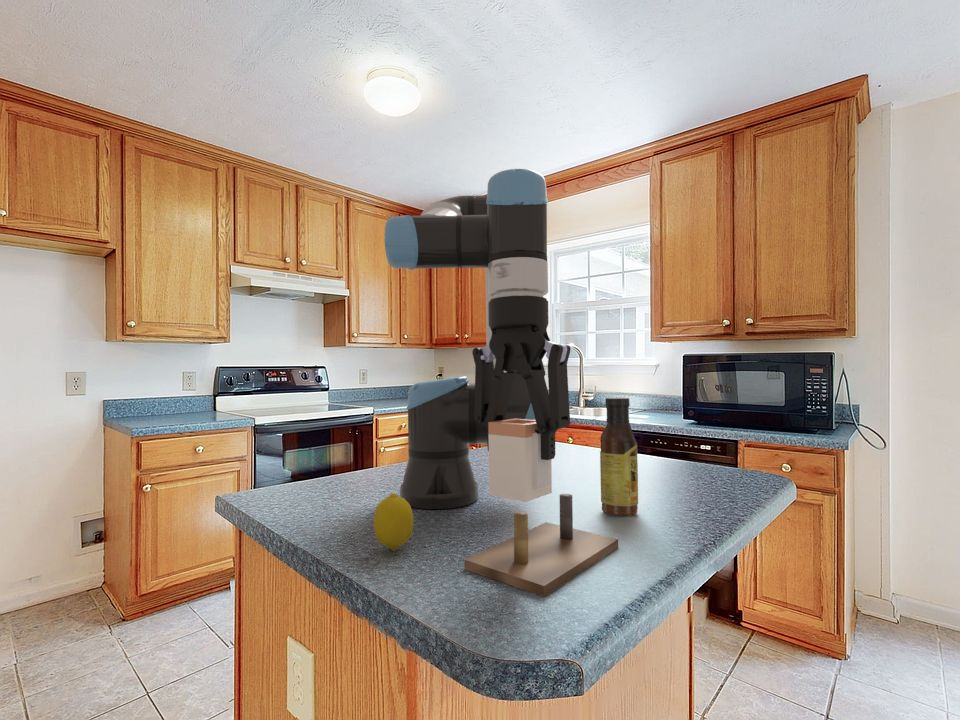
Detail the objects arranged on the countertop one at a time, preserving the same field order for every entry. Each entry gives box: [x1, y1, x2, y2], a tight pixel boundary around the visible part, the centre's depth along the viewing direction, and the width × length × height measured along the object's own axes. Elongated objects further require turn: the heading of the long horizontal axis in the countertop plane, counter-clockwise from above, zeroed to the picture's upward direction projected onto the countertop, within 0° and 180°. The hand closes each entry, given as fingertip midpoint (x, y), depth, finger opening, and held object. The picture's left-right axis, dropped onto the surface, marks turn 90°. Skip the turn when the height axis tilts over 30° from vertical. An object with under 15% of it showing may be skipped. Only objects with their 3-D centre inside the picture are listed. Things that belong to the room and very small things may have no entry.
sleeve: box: [488, 418, 553, 503], centre depth 63 cm, size 6×6×9 cm
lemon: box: [373, 493, 414, 552], centre depth 71 cm, size 6×6×8 cm
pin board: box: [464, 493, 619, 597], centre depth 67 cm, size 12×19×7 cm, turn 140°
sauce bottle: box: [599, 396, 639, 517], centre depth 87 cm, size 7×6×20 cm
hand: (520, 482), depth 63 cm, fingers closed on sleeve, 6 cm apart
